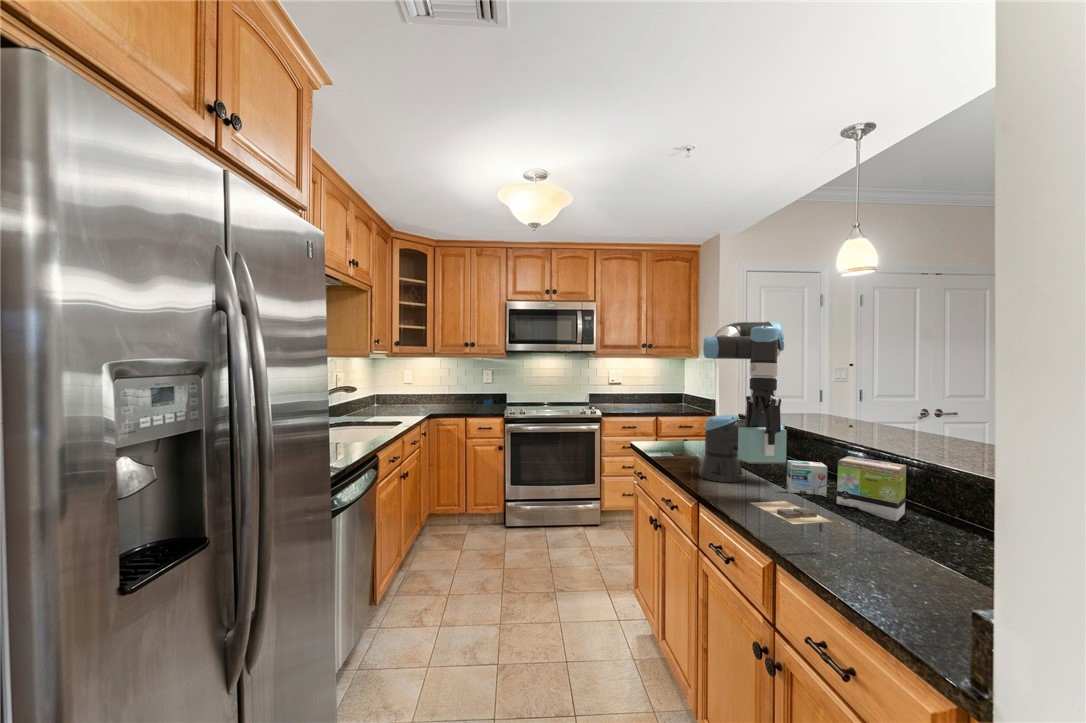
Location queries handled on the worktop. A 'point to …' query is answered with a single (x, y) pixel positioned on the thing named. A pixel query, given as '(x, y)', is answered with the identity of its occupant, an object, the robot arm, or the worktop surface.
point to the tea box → (872, 486)
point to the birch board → (773, 507)
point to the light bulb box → (806, 477)
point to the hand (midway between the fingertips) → (761, 453)
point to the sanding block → (760, 446)
